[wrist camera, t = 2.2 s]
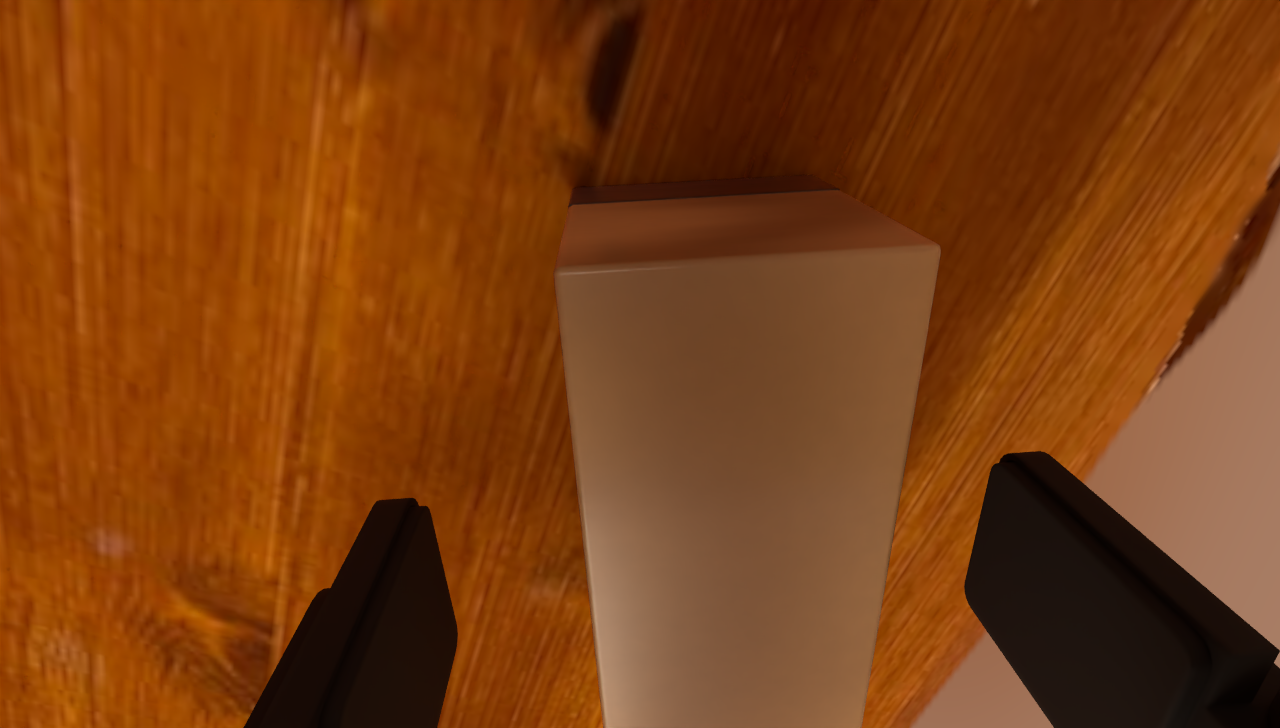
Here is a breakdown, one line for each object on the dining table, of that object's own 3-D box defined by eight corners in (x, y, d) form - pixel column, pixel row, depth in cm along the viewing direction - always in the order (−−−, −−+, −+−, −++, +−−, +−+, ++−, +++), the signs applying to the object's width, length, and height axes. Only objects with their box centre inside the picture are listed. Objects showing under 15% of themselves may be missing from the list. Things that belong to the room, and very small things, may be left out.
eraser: (814, 173, 12) (946, 244, 7) (784, 577, 16) (854, 778, 12) (571, 187, 12) (551, 267, 7) (608, 590, 16) (610, 798, 11)
